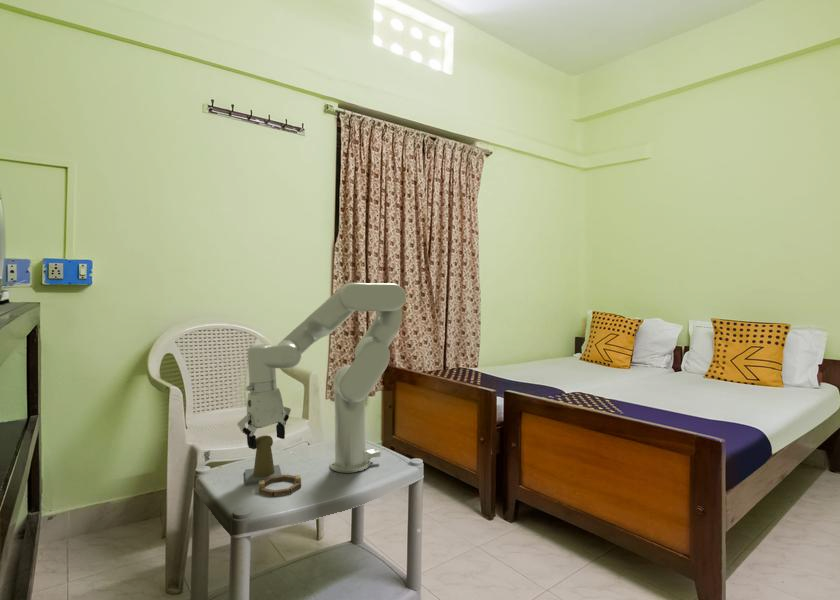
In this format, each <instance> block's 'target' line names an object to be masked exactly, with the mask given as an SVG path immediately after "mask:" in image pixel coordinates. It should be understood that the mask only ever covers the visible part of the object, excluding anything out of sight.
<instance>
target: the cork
mask: <svg viewBox="0 0 840 600" xmlns="http://www.w3.org/2000/svg"><path fill="white" fill-rule="evenodd" d="M273 439H274V438H272V436H271V435H259V436H256V449H255V458H254V467H253V468H254V473H253V475H254V476H255V477H267V476H270V475H272V474H274V472H275V470H274V465H275V464H274V459H273V458H274V457H273V452H272V446H273V443H274V440H273Z"/></svg>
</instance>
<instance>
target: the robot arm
mask: <svg viewBox="0 0 840 600" xmlns="http://www.w3.org/2000/svg"><path fill="white" fill-rule="evenodd" d="M406 300H407V295H406V291H405V290H404V288H403V287H402V286H401V285H399V283H398V284H397V283H394V282H393V283H390V282H387V283H384V282H383V283H382V282H381V283H380V282H379V283H374V282H372V283H371V282H370V283H367V282H366V283H365V282H348V283H345V284H343V285H341V286H340V288H339V289H337V291H335V292H334V293H333V294H332V295H331V296H329V298H327V299H326V301H325V300H324V302H323V303H322V304H320V306H319V307H317V309H315V310H314V311H313V312H312V313H310V314H309V316H307V317H306V318H305V319H304V320H303V321H302V322H301V323H300V324H298V325H297V326H296V327H295V328H294V329H293V330H292V331H291V332H290V333H288V334H287V335H286V336H285V337H284V338H283V339H282V340H280V342H278V343H277V345H271V344H267V343H266V344H255V345H252V346H249V348H247V364H248V365H247V366H248V367H247V368H248V381H249V383H248V384H249V385H247V386H245V390H246V391H247V392H248V394H247V399H246V401H247V402H246V415H245V416H244V417H243V418H242V419H241V420H239V422H237V426H238V428H239V430H240V432H242V433H243V434H245V435H246V441H247V442H246V443H247V447H248V448H249V449H250V450H251V449H252V450H256V438H257V436H256V435H254V434H255V433H256V432H257V429H262V428H265V427H268V426H272V425H275V424H276V426H275V428H276V438H277V439H278V438H279V439H281V440H285V438H286V436H285V435H286V427H285V426H286V425H287V421H288V420H289V418H290V415H291V410H292V409H291V408H289V407H287V406H284V402H283V397H282V393H281V390H280V388H279V387H277V375H276V373H277V372H276V371H277V370H276V369H285V370H286V369H287V370H288V369H293V368H295V367H296V366H297V365H299V364H300V362H301V359H302V355H303V353H305V352H306V350H308V349H309V348H310V347H311V346H312V345H313V344H314V343H316V342H318V341H319V340H320V339H323V338H324V337H327V336H328V335H330V334H332V333H333V332H335V331H336V330H337V329H338V327H340V326H342V324H343V323H344V322H345V321H346V320H348V318H349V317H351V316H352V315H353V314H354V313H355V312H376V314H375V318H374V319H373V320H372V322H371V325H370V326H369V328H368V329H367V331H366V332H365V334H364V335H363V336H362V338H361V339H360V340H359V342H358V343H357V344H356V346H355V350H354V357H355V358H354V360H353V361H352V363H351V364H347V365H346V364H345V365H343V366H341V367H340V368H339V369H338V370H337V371H336V372H335V374H334V377H333V397H334V458H333V459H332V460H331V461H330V462H329V467H330V469H331V470H332V471H335V472H338V473H343V474H351V473H358V471H359V472H361V471H364V469H365V470H367V469H368V468H369V467H370V466H371V459H372V458H380V457H381V451H380V450H375V449H368V450H367V449H366V398H367V397H368V396H369V395H370V393H371V392H372V390H373V389H374V387H375V386H376V384H378V381H379V380H380V378H381V377H382V375H383V374H384V372H385V371H386V369H387V367H388V365H389V364H390V360H391V351H390V348H389V347H390V345H391V344H392V342H393V341H394V338H395V337H396V336H397V334H398V332H399V330H400V327H401V325H402V319H403V310H402V307H404V305H405V304H406ZM246 424H247V425H248V426H247V427H246Z"/></svg>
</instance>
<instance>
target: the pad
mask: <svg viewBox="0 0 840 600" xmlns="http://www.w3.org/2000/svg"><path fill="white" fill-rule="evenodd" d="M274 470H275V472H274V474H272V475H270V476H267V477H255V476H254V475H253V473H254V467H253V468H248V469H244V479H245V481H244V482H245V486H250V485H251V486H252V485H259V481H262V480H265V479H267V478H269V477H272V476H279V475H283V474H282V472H281V467H280V465H279V464H276V465H275V464H274Z"/></svg>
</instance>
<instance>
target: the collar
mask: <svg viewBox="0 0 840 600" xmlns="http://www.w3.org/2000/svg"><path fill="white" fill-rule="evenodd" d="M283 480H284V481H288V482H292V483H294V484H293V485H291V486H290V487H287V488H280V489H270V488H265V487H266V486H269V485H270V484H271V483H276V482H283ZM301 487H302V477H301V474H297V475H296V474H295V475H291V474H282V475H279V476H272V477H269V478H267V479H265V480H262V481H259V483H258V491H259V494H260V495H262V496H267V497H272V498H273V497H281V496H286V495H290V494H293V493H295V492H296V491H298V490H300V489H301Z"/></svg>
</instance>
